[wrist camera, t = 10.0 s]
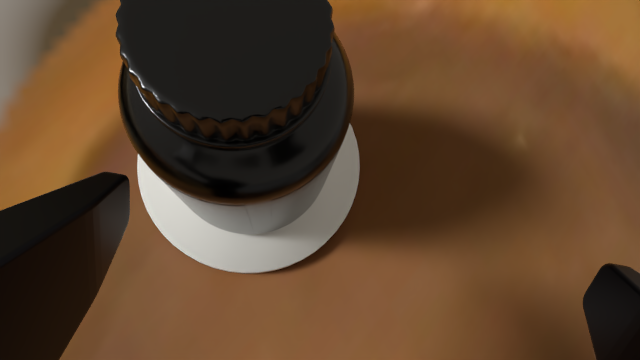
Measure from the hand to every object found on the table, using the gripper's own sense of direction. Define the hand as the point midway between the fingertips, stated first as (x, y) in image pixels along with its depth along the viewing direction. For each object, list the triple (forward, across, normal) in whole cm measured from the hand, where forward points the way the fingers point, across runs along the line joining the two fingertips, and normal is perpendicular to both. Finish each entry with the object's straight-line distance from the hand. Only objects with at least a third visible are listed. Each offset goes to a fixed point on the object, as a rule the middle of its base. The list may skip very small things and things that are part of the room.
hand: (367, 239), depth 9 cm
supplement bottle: (+12, +4, +6) cm, 14 cm away
